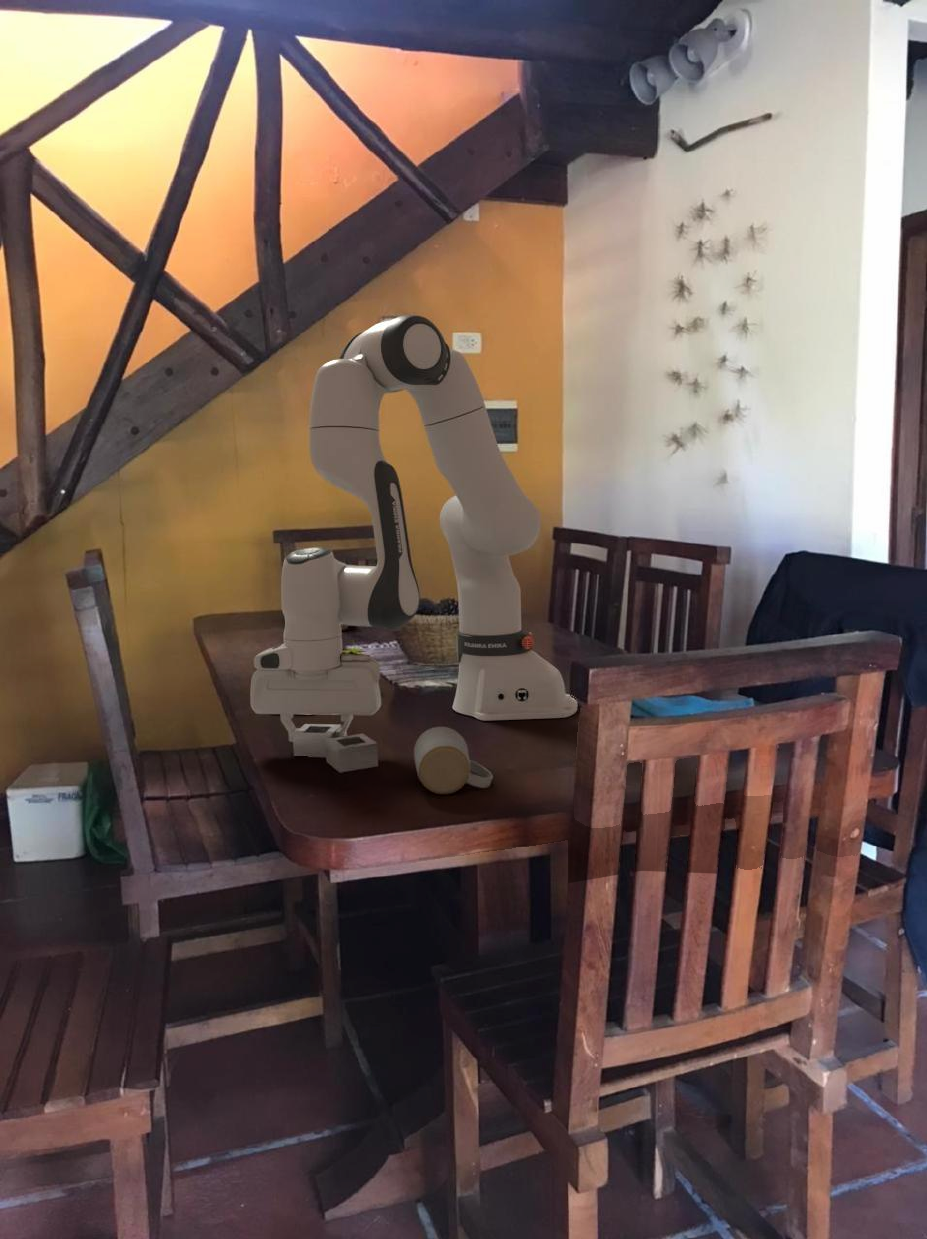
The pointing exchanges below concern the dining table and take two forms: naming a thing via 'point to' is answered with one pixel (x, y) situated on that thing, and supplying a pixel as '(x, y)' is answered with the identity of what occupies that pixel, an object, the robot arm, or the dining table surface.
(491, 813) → the dining table surface
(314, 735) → the end link
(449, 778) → the ceramic mug
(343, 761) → the white square box
